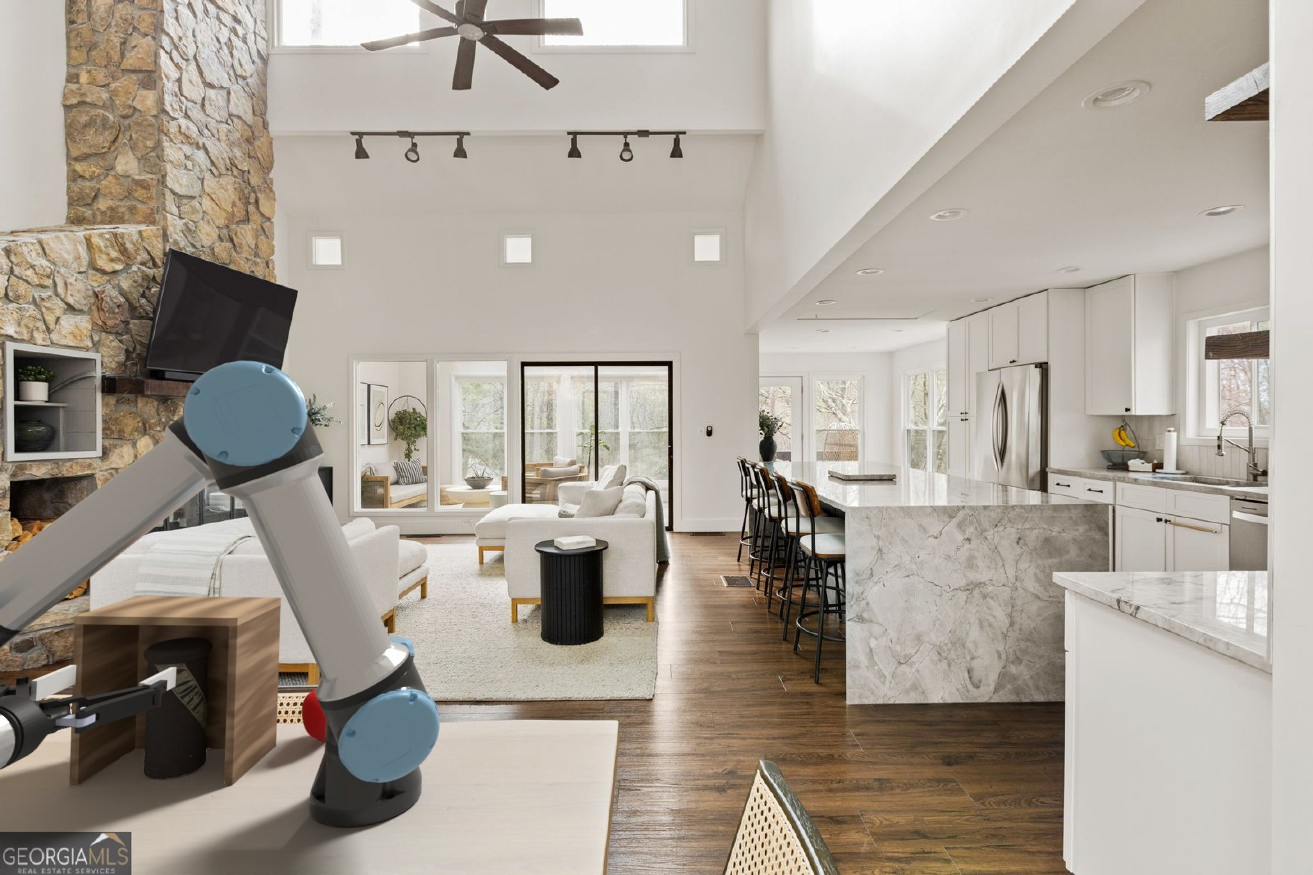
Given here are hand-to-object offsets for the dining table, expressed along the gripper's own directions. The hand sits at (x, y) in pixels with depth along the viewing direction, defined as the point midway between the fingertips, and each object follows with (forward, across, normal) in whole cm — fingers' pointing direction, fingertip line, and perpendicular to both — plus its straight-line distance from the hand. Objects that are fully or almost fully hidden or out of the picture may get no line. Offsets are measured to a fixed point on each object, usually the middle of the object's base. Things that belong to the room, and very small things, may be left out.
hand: (123, 675), depth 96 cm
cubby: (+11, +1, -18) cm, 21 cm away
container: (+11, +1, -18) cm, 21 cm away
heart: (+20, +20, -18) cm, 34 cm away
